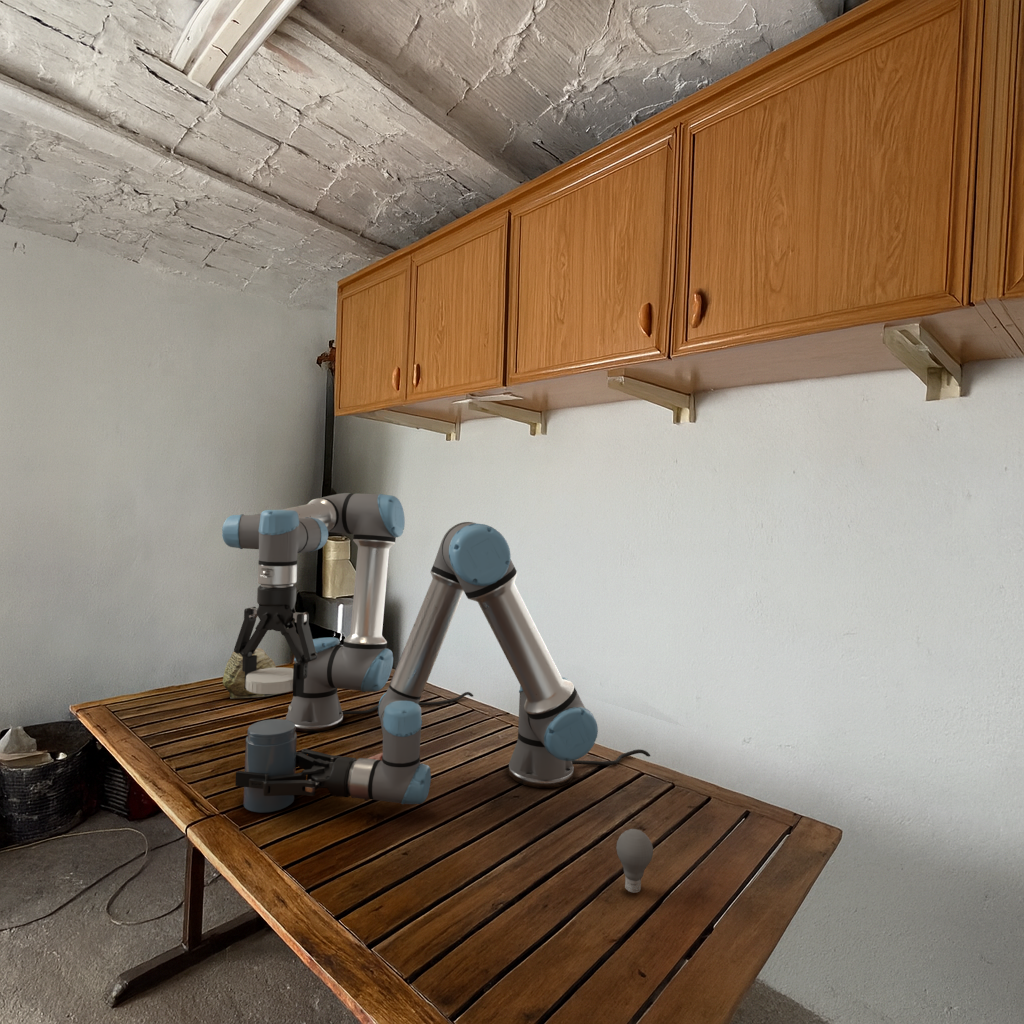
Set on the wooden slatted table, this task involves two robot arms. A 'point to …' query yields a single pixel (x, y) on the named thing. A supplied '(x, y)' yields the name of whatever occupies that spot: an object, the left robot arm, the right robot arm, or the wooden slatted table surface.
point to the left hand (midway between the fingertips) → (273, 690)
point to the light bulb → (634, 857)
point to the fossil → (243, 674)
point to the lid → (270, 681)
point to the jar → (269, 760)
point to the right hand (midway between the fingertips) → (250, 767)
